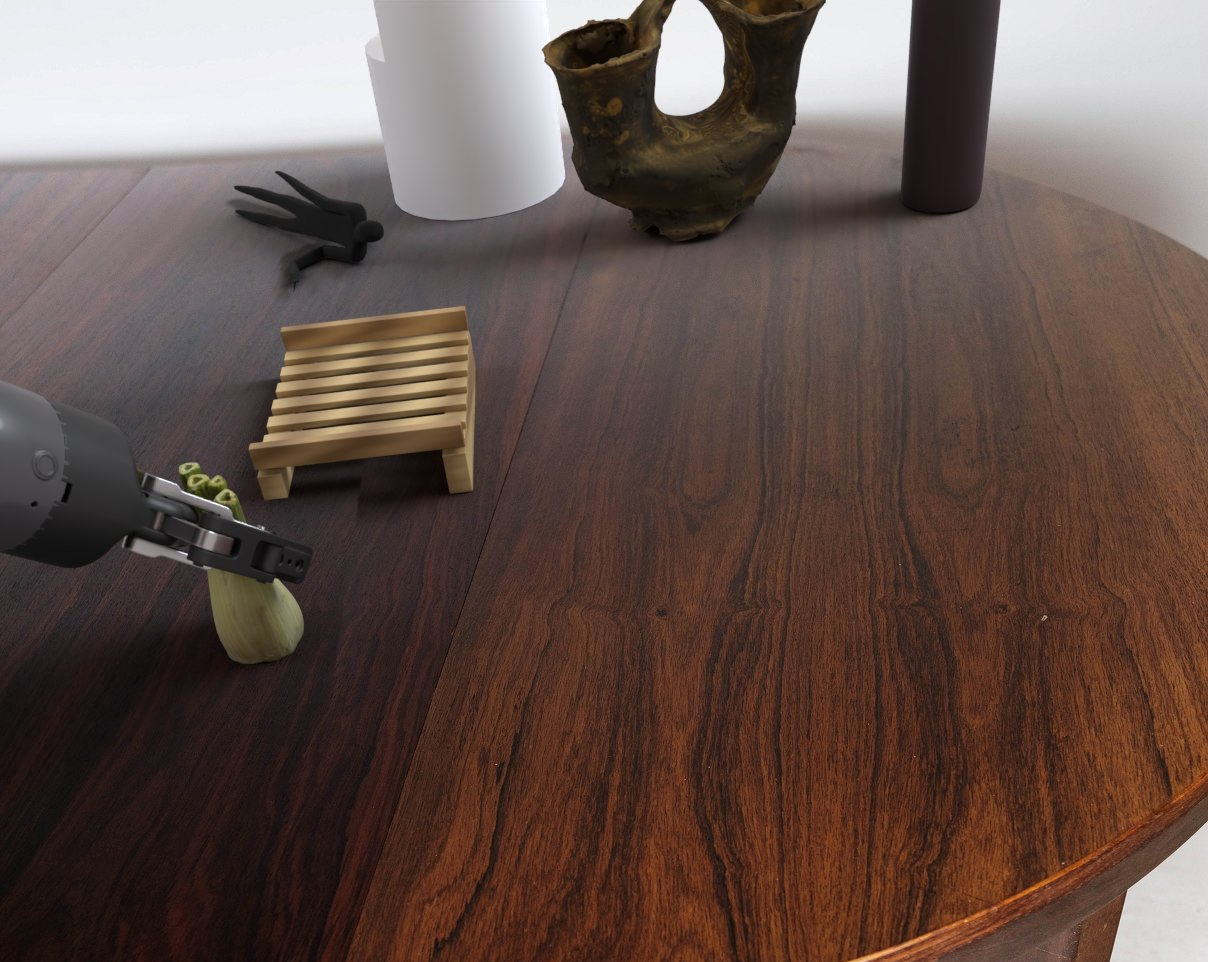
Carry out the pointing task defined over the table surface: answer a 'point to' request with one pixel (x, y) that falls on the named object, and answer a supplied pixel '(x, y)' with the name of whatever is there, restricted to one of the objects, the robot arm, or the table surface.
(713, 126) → the pottery vessel
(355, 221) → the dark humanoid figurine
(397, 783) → the table surface
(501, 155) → the cylinder
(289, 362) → the drying rack
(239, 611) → the fennel bulb
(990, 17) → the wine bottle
